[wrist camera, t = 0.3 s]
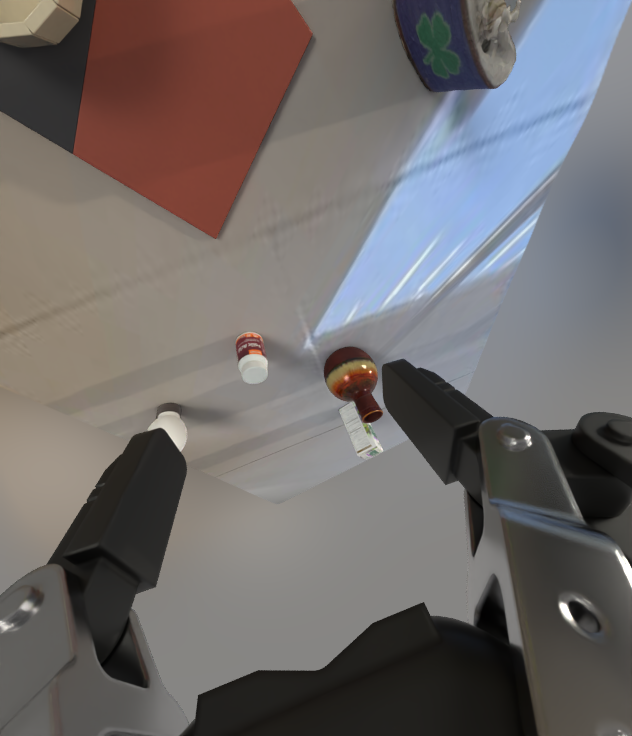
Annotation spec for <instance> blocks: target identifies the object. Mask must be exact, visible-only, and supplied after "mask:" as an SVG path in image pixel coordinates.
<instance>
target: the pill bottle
mask: <svg viewBox="0 0 632 736" xmlns="http://www.w3.org/2000/svg"><path fill="white" fill-rule="evenodd" d="M236 351H237V360H238V368H239V370H240V371H241V374H242V379H243V380H244V381H245V382H246V383H249V384H258V383H261V382H263V381H264V380H265V379H266V378H267V376H268V371H267V366H268V361H267V357H266V352H265V348H264V343H263V340H262V337H261V336H260V335H259V334H257V333H254V332H245V333H242V334H241V335H240V336H238V338H237V339H236Z"/></svg>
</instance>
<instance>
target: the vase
mask: <svg viewBox="0 0 632 736" xmlns="http://www.w3.org/2000/svg"><path fill="white" fill-rule="evenodd" d="M324 378H325V382H326V385H327V387H328V389H329V390H330V392H331V393H332V394H333V395H334V396H335V397H337V398H339V399H340V400H343V401H347V402H354V403H355V405H356V407H357V409H358V412H359V414H360V417H361V419H362V421H363V423H372V422H374V421H376V420H378V419H379V418H381V416H382V415H383V411H382V410H381V408H380V407H379V405H378V404H377V402H376V401H375V399H374V398H373V396H372V394H371V393H372V392H373V390H374V389H375V387H376V384H377V380H378V372H377V368H376V365H375V363H374V361H373V360H372V359H371V357H370V356H369V355H368V354H367V353H365V352H364V351H362V350H361V349H358V348H355V347H345V348H341V349H339V350H337V351H335V352H334V353H332V354H331V355H330V357H329V358H328V359H327V361H326V363H325V367H324Z"/></svg>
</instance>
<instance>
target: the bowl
mask: <svg viewBox="0 0 632 736" xmlns="http://www.w3.org/2000/svg"><path fill="white" fill-rule="evenodd" d="M82 1H83V0H0V42H3V43H6V44H10V45H13V46H16V47H21V48H29V47H39V46H49V45H56V44H57V43H60V42H61V40H62V39H63V38H64V37H65V36H66V35H67V34H68V33H69V32H70V30H71V29H72V28H73V27H74V26H75V25H76V24H77V22H78V21H79V19H78V18H80V15H81V7H82Z"/></svg>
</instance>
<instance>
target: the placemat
mask: <svg viewBox="0 0 632 736" xmlns="http://www.w3.org/2000/svg"><path fill="white" fill-rule="evenodd" d="M78 19H79V21H78V22H77V24H76V25H75V26H74V27H73V28H72V29H71V30H70V32H69V33H68V34H67V35H66V36H65V37H64V38H63V39H62V40H61V42H60V43H57V44H56V45H49V46H39V47H29V48H21V47H16V46H13V45H10V44H6V43H3V42H0V111H2V112H3V113H5V114H7V115H8V116H10V117H12V118H13V119H15V120H17V121H18V122H20V123H22V124H23V125H25V126H27V127H28V128H30V129H32V130H33V131H35V132H37V133H38V134H40V135H42V136H44V137H45V138H47V139H49V140H50V141H52V142H54V143H55V144H57V145H59V146H60V147H62V148H64V149H65V150H67V151H69V152H70V153H72V154H74V155H75V156H77V157H79V158H80V159H82V160H84V161H86V162H87V163H89V164H91V165H92V166H94V167H96V168H97V169H99V170H101V171H102V172H104V173H106V174H107V175H109V176H111V177H112V178H114V179H116V180H117V181H119V182H121V183H122V184H124V185H126V186H128V187H129V188H131V189H133V190H134V191H136V192H138V193H139V194H141V195H143V196H144V197H146V198H148V199H149V200H151V201H153V202H154V203H156V204H158V205H159V206H161V207H163V208H164V209H166V210H168V211H170V212H171V213H173V214H175V215H176V216H178V217H180V218H181V219H183V220H185V221H186V222H188V223H190V224H191V225H193V226H195V227H196V228H198V229H200V230H201V231H203V232H205V233H206V234H208V235H210V236H211V237H213V238H215V239H216V238H217V236H218V234H219V231H220V229H221V227H222V225H223V223H224V221H225V219H226V217H227V214H228V212H229V210H230V208H231V206H232V204H233V202H234V200H235V198H236V195H237V193H238V191H239V189H240V187H241V185H242V183H243V181H244V178H245V176H246V174H247V172H248V170H249V168H250V166H251V164H252V162H253V159H254V157H255V155H256V153H257V151H258V149H259V147H260V145H261V142H262V140H263V138H264V136H265V134H266V132H267V130H268V128H269V126H270V123H271V121H272V119H273V117H274V115H275V113H276V111H277V109H278V107H279V104H280V102H281V100H282V98H283V96H284V94H285V92H286V90H287V87H288V85H289V83H290V81H291V79H292V77H293V75H294V73H295V71H296V68H297V66H298V64H299V62H300V60H301V58H302V56H303V54H304V51H305V49H306V47H307V45H308V43H309V41H310V39H311V37H312V35H313V33H312V32H311V30H310V29H309V27H308V25H307V24H306V22H305V21H304V19H303V18H302V16H301V15H300V13H299V12H298V10H297V9H296V7H295V6H294V4H293V3H292V1H291V0H83V1H82V7H81V15H80V18H78Z"/></svg>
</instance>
